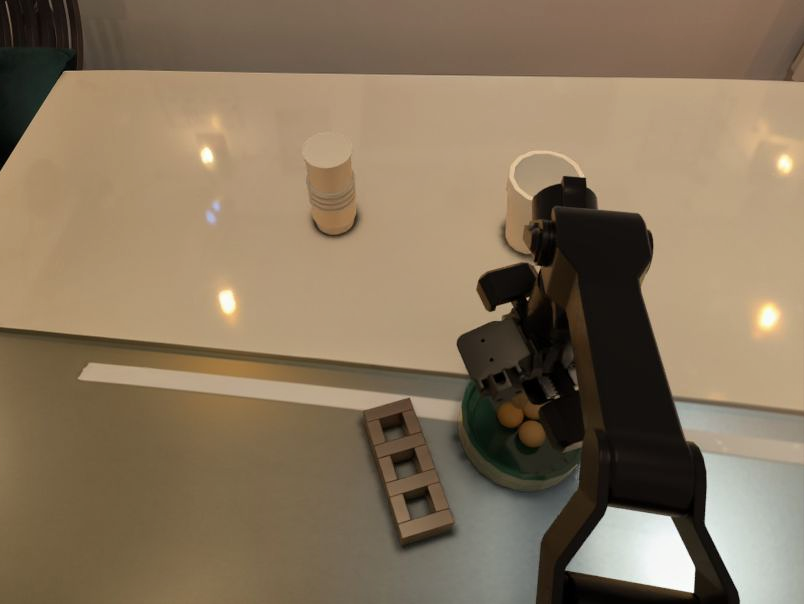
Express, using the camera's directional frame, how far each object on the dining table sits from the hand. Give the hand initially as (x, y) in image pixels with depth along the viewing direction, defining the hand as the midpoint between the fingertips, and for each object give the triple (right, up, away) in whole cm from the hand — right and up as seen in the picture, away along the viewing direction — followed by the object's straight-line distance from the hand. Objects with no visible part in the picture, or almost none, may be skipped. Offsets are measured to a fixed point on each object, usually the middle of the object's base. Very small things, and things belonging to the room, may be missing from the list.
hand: (526, 384), depth 66 cm
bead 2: (+3, -4, +6) cm, 8 cm away
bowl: (+1, -7, +7) cm, 10 cm away
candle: (-21, +19, +28) cm, 40 cm away
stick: (0, -3, +4) cm, 5 cm away
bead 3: (+2, -7, +5) cm, 9 cm away
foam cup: (+7, +16, +23) cm, 30 cm away
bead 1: (0, -5, +6) cm, 8 cm away
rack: (-13, -12, +5) cm, 18 cm away
